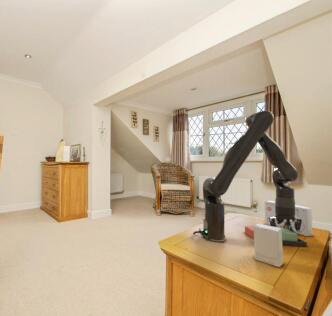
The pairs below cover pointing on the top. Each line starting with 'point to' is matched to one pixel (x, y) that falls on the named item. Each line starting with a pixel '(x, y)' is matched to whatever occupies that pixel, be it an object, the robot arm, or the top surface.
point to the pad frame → (295, 243)
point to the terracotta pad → (249, 231)
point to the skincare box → (300, 213)
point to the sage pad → (288, 235)
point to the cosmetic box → (268, 244)
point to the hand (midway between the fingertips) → (285, 237)
